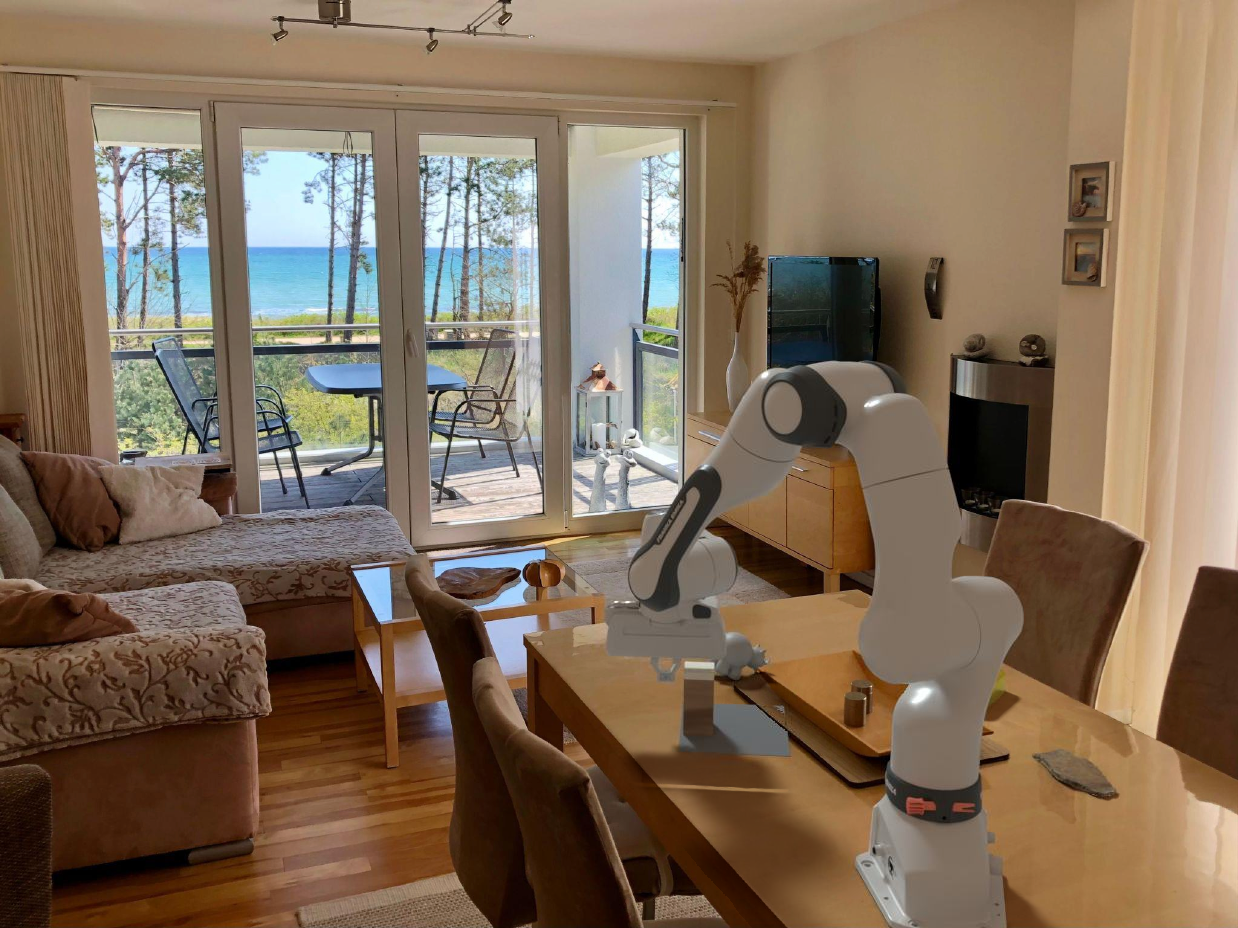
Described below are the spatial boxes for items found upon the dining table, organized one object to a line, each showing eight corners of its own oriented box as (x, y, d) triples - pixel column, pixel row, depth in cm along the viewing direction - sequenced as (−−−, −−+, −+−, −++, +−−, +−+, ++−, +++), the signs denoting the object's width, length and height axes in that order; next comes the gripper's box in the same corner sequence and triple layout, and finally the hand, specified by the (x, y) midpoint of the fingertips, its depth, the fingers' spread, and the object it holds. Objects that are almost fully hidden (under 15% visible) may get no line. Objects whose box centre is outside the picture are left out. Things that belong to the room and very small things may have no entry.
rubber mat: (790, 759, 177) (790, 756, 177) (678, 754, 178) (678, 751, 178) (783, 708, 196) (783, 706, 196) (682, 704, 198) (682, 702, 198)
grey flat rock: (1068, 753, 180) (1069, 743, 180) (1126, 799, 165) (1128, 788, 165) (1024, 756, 179) (1025, 746, 178) (1078, 803, 164) (1079, 792, 163)
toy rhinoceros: (768, 692, 210) (785, 652, 210) (714, 676, 206) (731, 635, 205) (753, 678, 217) (769, 639, 216) (700, 662, 213) (717, 622, 212)
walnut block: (712, 735, 184) (714, 673, 182) (683, 734, 184) (684, 672, 182) (713, 723, 189) (714, 662, 187) (684, 721, 189) (684, 661, 187)
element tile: (977, 718, 194) (979, 692, 193) (897, 697, 203) (899, 672, 202) (1007, 692, 205) (1009, 668, 204) (931, 673, 214) (932, 650, 213)
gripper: (602, 606, 181) (602, 686, 183) (727, 610, 179) (726, 690, 181) (606, 595, 187) (606, 672, 189) (727, 598, 185) (725, 675, 188)
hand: (665, 681), depth 185 cm, fingers closed
